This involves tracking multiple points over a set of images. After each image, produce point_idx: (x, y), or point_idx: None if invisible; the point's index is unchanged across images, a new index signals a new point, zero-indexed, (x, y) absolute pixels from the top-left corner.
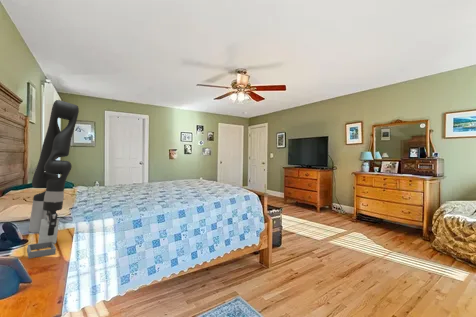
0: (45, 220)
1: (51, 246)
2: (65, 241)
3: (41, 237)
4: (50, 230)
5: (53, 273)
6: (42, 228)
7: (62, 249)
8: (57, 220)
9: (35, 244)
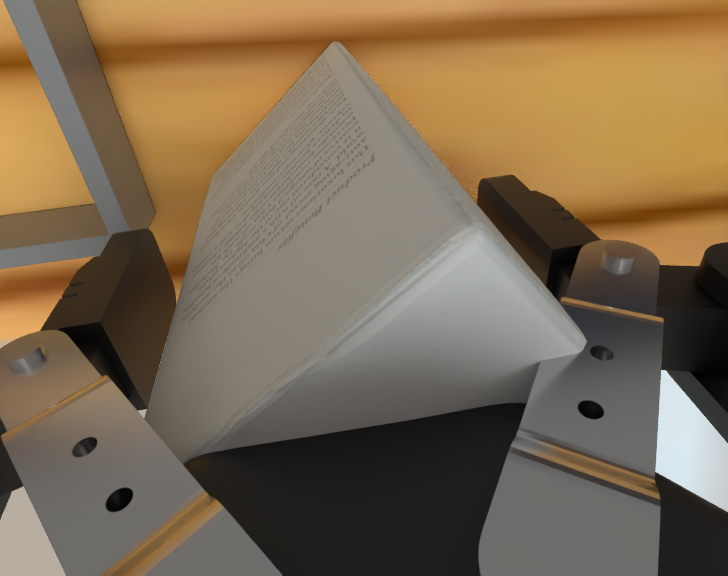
0: (293, 357)
1: (53, 223)
2: None
3: (303, 105)
4: (55, 327)
5: None
6: (326, 163)
7: (34, 310)
8: None
9: (11, 13)
